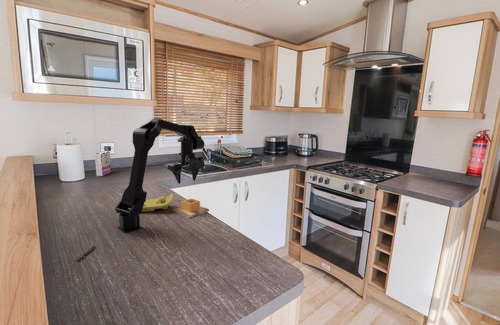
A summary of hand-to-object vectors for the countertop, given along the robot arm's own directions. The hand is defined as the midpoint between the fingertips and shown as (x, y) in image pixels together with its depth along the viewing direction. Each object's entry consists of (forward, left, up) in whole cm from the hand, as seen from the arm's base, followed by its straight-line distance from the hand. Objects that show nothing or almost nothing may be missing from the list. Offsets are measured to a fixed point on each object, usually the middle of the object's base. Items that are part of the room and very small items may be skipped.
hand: (186, 182), depth 132 cm
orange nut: (-4, -8, -11) cm, 14 cm away
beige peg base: (-4, -8, -12) cm, 15 cm away
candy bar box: (0, +92, -12) cm, 93 cm away
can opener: (-52, -15, -12) cm, 56 cm away
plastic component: (-15, +7, -12) cm, 21 cm away
